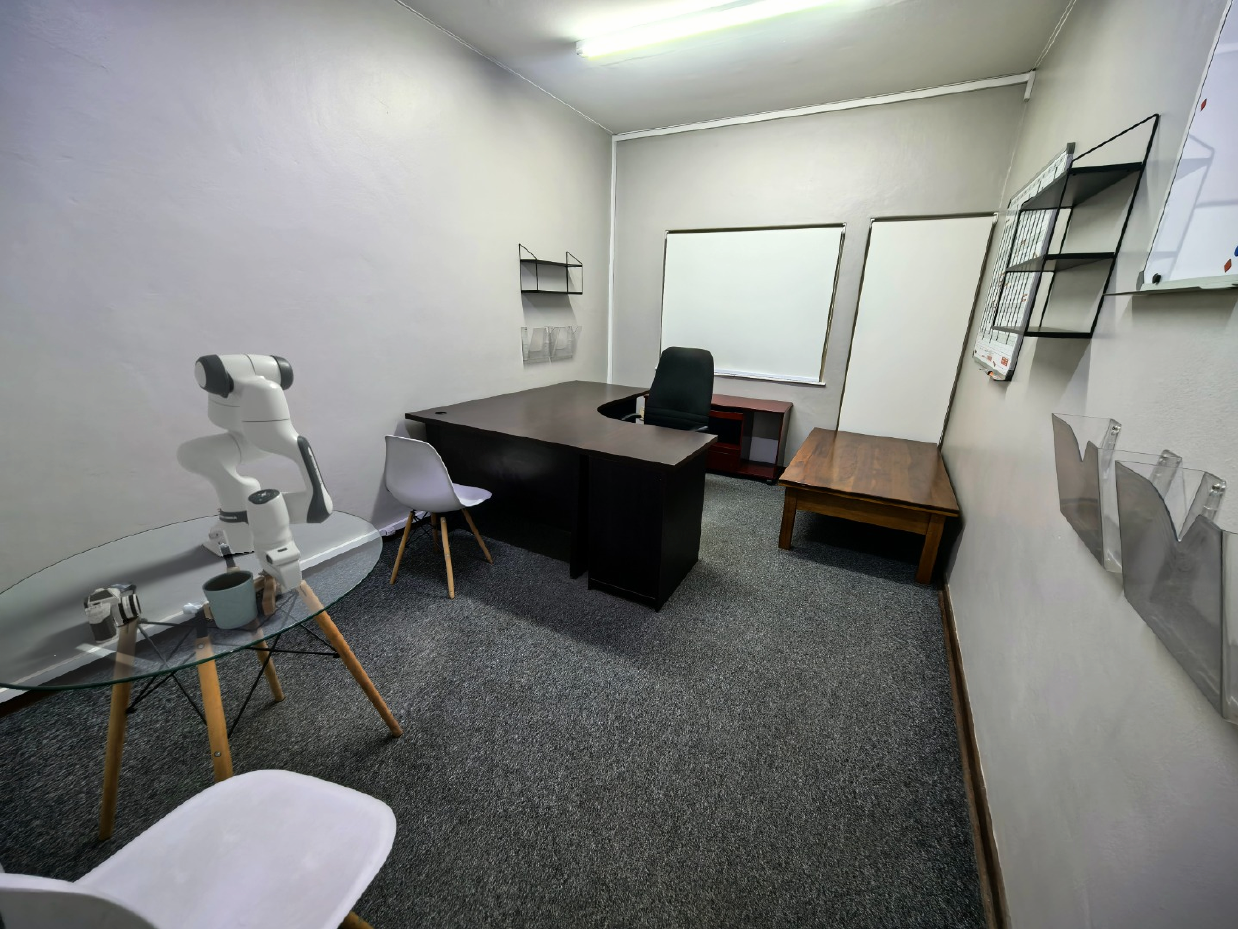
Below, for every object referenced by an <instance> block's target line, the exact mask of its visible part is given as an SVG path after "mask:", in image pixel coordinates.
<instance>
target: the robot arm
mask: <svg viewBox="0 0 1238 929" xmlns="http://www.w3.org/2000/svg"><path fill="white" fill-rule="evenodd" d="M294 376H295V375H294V370H293V368H292V365H291V363H290V362H289V361H288V360H287V359H286V358H284V357H282V356H277V355H272V354H271V355H264V354H253V353H242V354H239V353H238V354H237V353H234V354H220V355H217V354H208V355H202V356H200V357H199V358H197V359H196V361H195V363H194V377H195V379H196V382H197V384H198V385H199V387H200V388H201V389H202V390H204V391H206V392H207V417H208V419H209V421H210V422H211V423H212V424H213V425H215V427H216V426H217V427H219V428H221V429H224V430H227V431H226V432H224V433H218V434H211V435H206V436H199V437H197V438H196V437H195V438H192V439H190V440H187V441H184V442H181V443H180V444H179V446H178V448H177V450H176V460H177V462H178V465H180V466H181V467H182V469H184V470H185V471H188V472H189V473H192V474H195V475H198V476H199V477H202V478H203V479H205V480H206V481H208V482H209V483H210V484H211V486H212V487H213V489H214V491H215V493H216V496H217V499H218V503H219V507H220V508H217V509H216V511H217V513H219V514H218V515H219V516H218V517H219V518H218V520H217V521H216V522H215V523H214V524H213V525H211V527H210V528H209V533H208V535H207V536H208V539H206V540H204V541H203V542H202V546H203V547H205V549H208V550H209V551H211V552H213V554H216V556H219V557H221V552H220V549H219V547H218V546H219V545H221V544H222V543H224V544H227V546H229V547H230V548H231V549H232V550H233V552H249V553H253V552H252V551H254V553H255V557H256V559H257V560H258V561H259V564H260V567H261V569H262V570H263V569H264V570H265V571H266V572H267V573H268V574H270V575H271V576H272V577H273V578H274V579H275V582H276V587H277V590H278V591H280V592H281V593H282V594H285V593H288V592H290V590H292V589H294V588H297V587H300V586H301V585H302V582H303V577H302V575H303V574H302V569H301V567H302V566H301V563H300V558H301V557H302V554H301V551H300V550H299V548H298V547H297V545H296V544H295V540H294V536H293V532H292V530H291V528H290V526H291V525H292V526H293V525H301V524H322V523H323V522H325V521H326V520H327V519H329V518H330V517H331V515H332V514H333V508H334V505H333V501H332V498H331V496H330V493H329V491H328V490H327V487H326V484H325V483H324V479H323V477H322V473H321V470H320V467H319V465H318V462H317V460H316V456H315V454H314V452H313V449H312V446H311V445H310V442H309V441H308V439H307V438H306V437H304V436H302V435H300V434H299V433H298V432H297V431H296V429H295V427H294V425H293V423H292V419H291V413H290V409H289V405H288V401H287V398H286V395H285V393H284V391H287V390H289V389H290V388H291V387H292V385H293V384H294V378H295V377H294ZM274 455H278V456H281V457H284V458H287V459H289V460H291V461H292V462H294V463H295V464H296V466H297V467H298V468H299V472H300V475H301V477H302V481H303V483H304V485H305V488H306V490H299V491H298V490H295V491H282V492H281V491H280V490H278V489H275V488H267V489H261V484H260V482H259V481H258V480H257V479H256V478H255V477H253V476H250V475H247V474H246V475H245V474H239V473H238V471H237V468H236V467H239V466H243V465H248V464H253V463H257V462H260V461H264V460H266V459H268V458H271V457H272V456H274Z"/></svg>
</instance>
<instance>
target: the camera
mask: <svg viewBox="0 0 1238 929" xmlns="http://www.w3.org/2000/svg"><path fill="white" fill-rule="evenodd" d="M83 606H84V614H85V615H86V616H87V620H88V624H89V626H90V628H91V631H92V634H93V636H94V640H95V642H96V643H97V644H98V643H100V644H101V643H107V642H110V641H112V640H114V639H115V638H117V637H118V627H120V626H123V625H124V623H125V622H124V623H123V620H124V619H125V620H128V619H131V618H134V617H133V616H135V617H138V616H137V615H139V616H140V615H142V609H141V604H140V600H139V598H138V596H137V594H136V593H132V594H129V595H126V596H123V597H121V590H120V589H118V588H111V587H108V588H105V589H104V588H103V587H102V588H97V589H95V590H94V592H93V593H91V594H90V595H89V596H86V597H84V598H83ZM127 618H128V619H127ZM125 620H124V621H125Z"/></svg>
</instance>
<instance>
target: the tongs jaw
mask: <svg viewBox="0 0 1238 929" xmlns="http://www.w3.org/2000/svg"><path fill="white" fill-rule="evenodd" d="M265 577H266V581H265V587H264V588H263V595H262V600H261V605H262V610H263V614H264V616H269V615H272V614H275V605H276V591H277V584H276V582H275V579H274V578H273V577H272V576H271V575H270V574H268V573H267V572H266V571H265Z"/></svg>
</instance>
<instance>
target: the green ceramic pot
mask: <svg viewBox="0 0 1238 929" xmlns="http://www.w3.org/2000/svg"><path fill="white" fill-rule="evenodd" d="M253 580H254V574H253V572H251V571H250V570H243V569H242V570H240V569H239V570H232V571H227V572H224V573H221V574H217V575H215V576H212V577H211V578H210V579H208V580H207V581H205V582H204V583H203V584H202V586H201V587H202V588H201V589H202V591H203V593H204V596H205V598H206V600H207V602H208V603H209V607H210V609H211V612H212V613H213V617H214V619H213V620H214V623H215V624H216V626H217V628H218V629H221V630H231V629H237V628H240V627H242V626H245V625H247V624H249V623H252V621H253V620H255V619H256V617H257V616H258V613H259V611H258V604H257V603H256V602H257V601H256V600H257V599H256V598H257V597H256V593H255V591H254V581H253Z"/></svg>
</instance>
